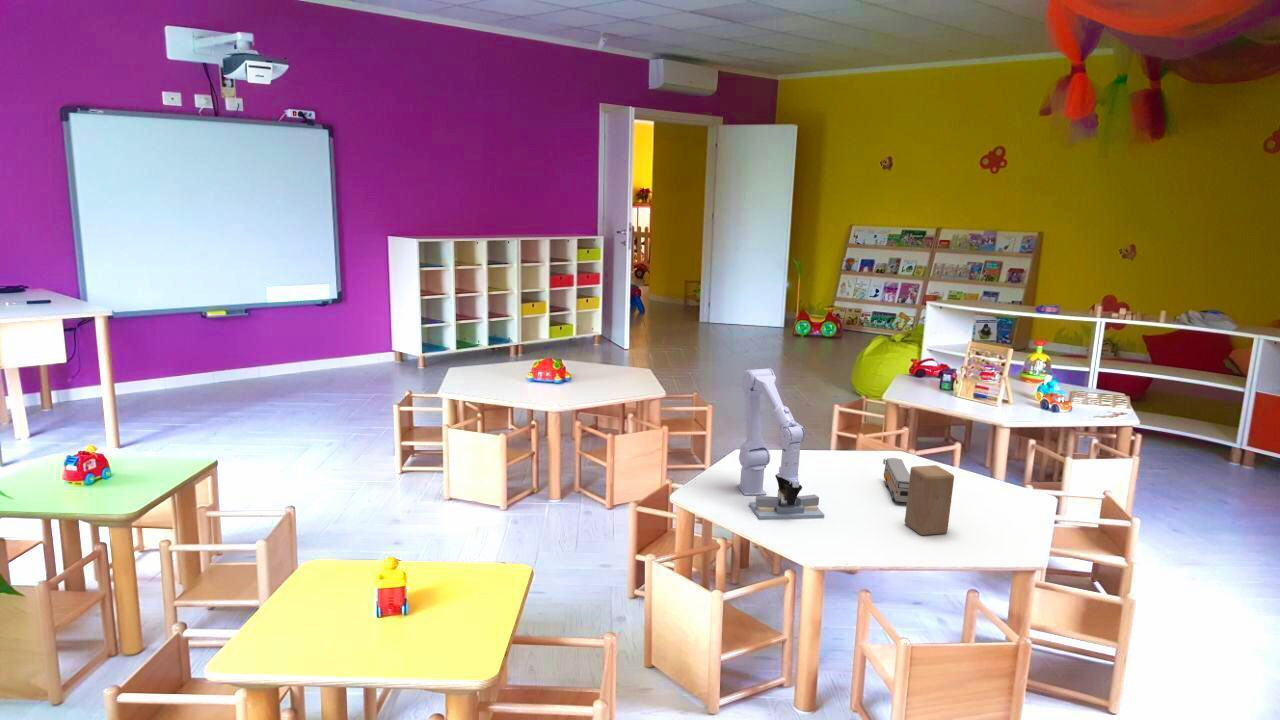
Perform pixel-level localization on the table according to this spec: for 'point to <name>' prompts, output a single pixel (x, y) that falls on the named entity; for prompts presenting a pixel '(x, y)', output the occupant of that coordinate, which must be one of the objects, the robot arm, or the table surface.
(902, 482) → the toy bus
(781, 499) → the tan and white block
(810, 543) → the table surface
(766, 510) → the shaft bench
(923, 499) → the wooden block
